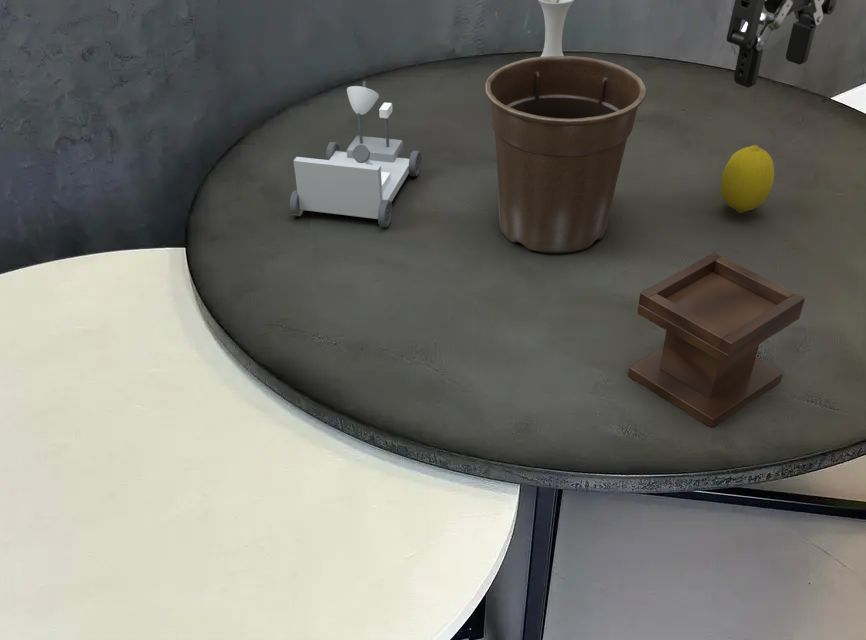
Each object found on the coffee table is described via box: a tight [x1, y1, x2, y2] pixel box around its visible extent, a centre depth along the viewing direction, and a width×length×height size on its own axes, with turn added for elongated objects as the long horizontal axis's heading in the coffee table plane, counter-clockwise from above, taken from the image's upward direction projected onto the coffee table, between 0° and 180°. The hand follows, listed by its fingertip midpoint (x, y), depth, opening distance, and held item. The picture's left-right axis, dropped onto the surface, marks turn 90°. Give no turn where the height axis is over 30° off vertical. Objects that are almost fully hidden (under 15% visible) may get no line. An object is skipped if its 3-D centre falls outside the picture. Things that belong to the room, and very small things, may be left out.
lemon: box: [720, 144, 775, 214], centre depth 111 cm, size 6×6×8 cm
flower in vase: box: [537, 0, 575, 57], centre depth 126 cm, size 13×11×25 cm
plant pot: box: [484, 55, 646, 254], centre depth 107 cm, size 16×16×16 cm
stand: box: [627, 252, 806, 428], centre depth 89 cm, size 10×10×9 cm
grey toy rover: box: [289, 80, 423, 228], centre depth 117 cm, size 18×10×12 cm
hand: (770, 72), depth 102 cm, fingers open, 8 cm apart
